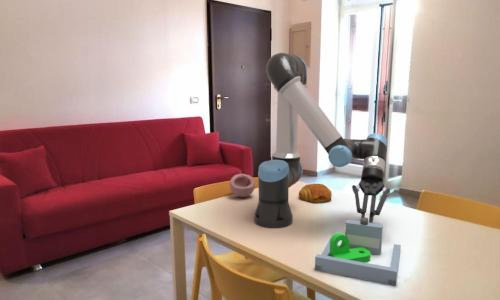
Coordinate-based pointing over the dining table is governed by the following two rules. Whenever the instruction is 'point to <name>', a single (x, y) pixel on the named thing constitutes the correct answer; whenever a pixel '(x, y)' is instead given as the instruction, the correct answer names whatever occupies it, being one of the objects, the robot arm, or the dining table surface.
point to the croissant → (315, 193)
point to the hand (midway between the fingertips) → (365, 232)
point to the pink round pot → (242, 185)
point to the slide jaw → (364, 235)
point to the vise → (359, 267)
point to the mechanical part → (347, 249)
